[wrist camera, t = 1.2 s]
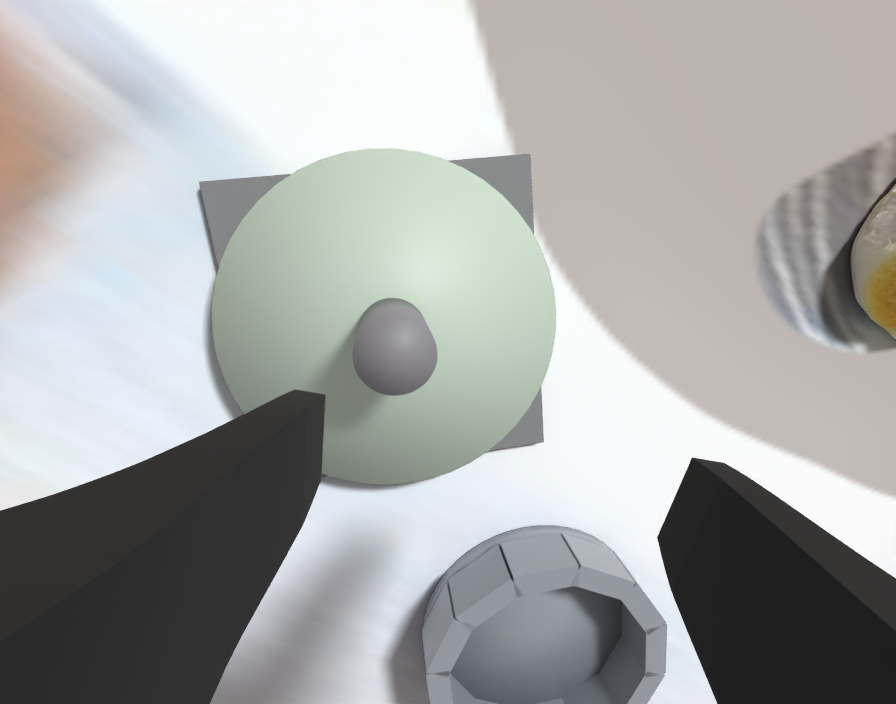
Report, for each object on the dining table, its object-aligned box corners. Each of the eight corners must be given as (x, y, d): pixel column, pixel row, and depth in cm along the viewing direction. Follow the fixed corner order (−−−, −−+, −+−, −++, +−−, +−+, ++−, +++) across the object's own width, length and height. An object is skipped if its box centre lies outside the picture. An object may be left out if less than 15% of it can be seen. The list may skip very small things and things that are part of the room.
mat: (269, 480, 20) (267, 485, 19) (203, 183, 17) (199, 182, 16) (540, 438, 21) (543, 442, 21) (527, 155, 18) (530, 153, 17)
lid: (257, 497, 19) (223, 570, 15) (181, 167, 16) (109, 144, 12) (554, 450, 21) (598, 505, 17) (542, 138, 17) (593, 108, 13)
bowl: (434, 724, 24) (442, 790, 21) (410, 547, 21) (414, 595, 19) (631, 681, 26) (663, 738, 23) (633, 508, 23) (669, 547, 20)
